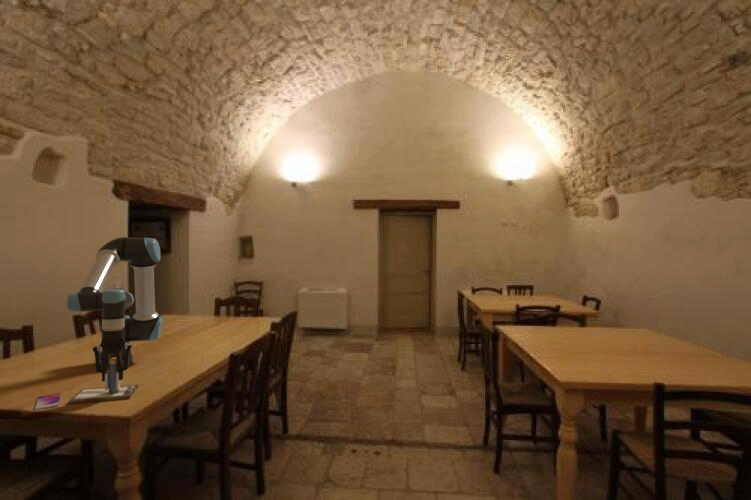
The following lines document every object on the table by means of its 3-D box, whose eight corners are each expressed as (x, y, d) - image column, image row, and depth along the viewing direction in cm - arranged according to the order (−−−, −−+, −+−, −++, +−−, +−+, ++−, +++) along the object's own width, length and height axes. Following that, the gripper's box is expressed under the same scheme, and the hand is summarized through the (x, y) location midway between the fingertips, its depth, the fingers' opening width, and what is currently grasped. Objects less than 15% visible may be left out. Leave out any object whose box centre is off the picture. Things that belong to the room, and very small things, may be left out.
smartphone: (33, 409, 144) (37, 396, 156) (33, 412, 144) (37, 398, 156) (59, 404, 148) (61, 392, 160) (59, 407, 148) (61, 394, 160)
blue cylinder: (109, 390, 161) (109, 357, 160) (120, 390, 162) (120, 357, 161) (107, 394, 157) (106, 360, 156) (117, 393, 158) (117, 360, 157)
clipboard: (81, 391, 163) (82, 386, 163) (138, 387, 170) (138, 382, 170) (68, 404, 150) (68, 399, 150) (129, 398, 156) (129, 393, 156)
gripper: (85, 332, 152) (84, 394, 152) (134, 329, 157) (133, 389, 157) (92, 328, 159) (91, 387, 159) (139, 326, 164) (138, 383, 164)
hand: (112, 388), depth 158 cm, fingers closed on blue cylinder, 3 cm apart
